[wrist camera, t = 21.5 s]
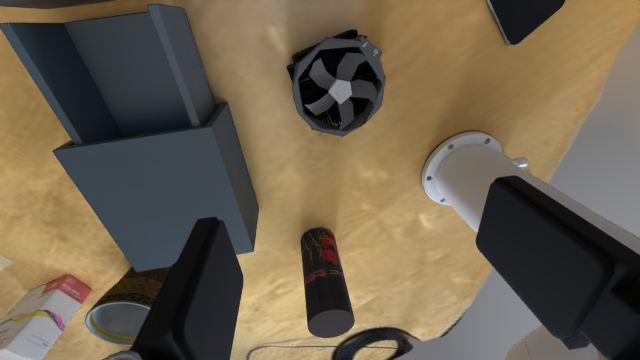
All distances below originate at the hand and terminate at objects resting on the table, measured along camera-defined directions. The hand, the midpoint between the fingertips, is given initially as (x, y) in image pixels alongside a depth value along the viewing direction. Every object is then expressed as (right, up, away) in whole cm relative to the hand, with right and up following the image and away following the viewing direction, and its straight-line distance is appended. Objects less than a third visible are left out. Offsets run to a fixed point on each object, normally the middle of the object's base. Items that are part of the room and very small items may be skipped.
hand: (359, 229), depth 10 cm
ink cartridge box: (-45, -17, +36) cm, 60 cm away
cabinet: (-19, +3, +27) cm, 33 cm away
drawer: (-21, +16, +19) cm, 32 cm away
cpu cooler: (0, +14, +24) cm, 28 cm away
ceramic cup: (-27, -13, +36) cm, 47 cm away
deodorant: (-2, -9, +37) cm, 38 cm away
